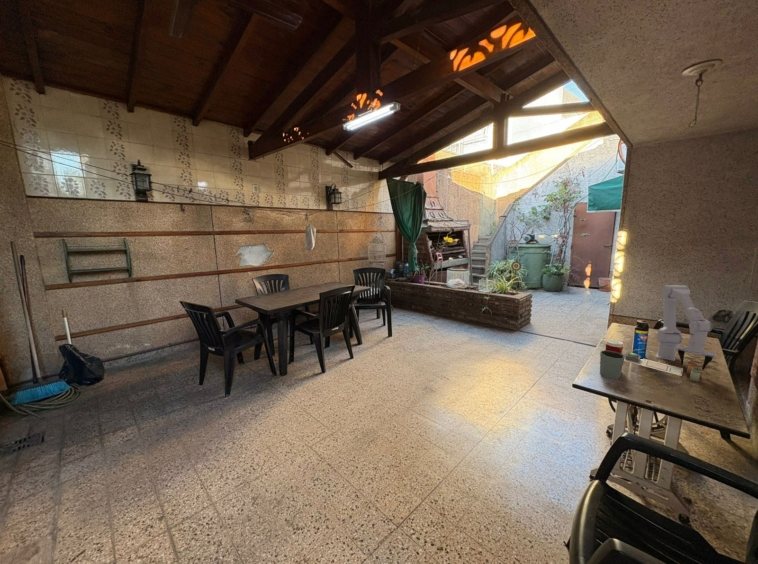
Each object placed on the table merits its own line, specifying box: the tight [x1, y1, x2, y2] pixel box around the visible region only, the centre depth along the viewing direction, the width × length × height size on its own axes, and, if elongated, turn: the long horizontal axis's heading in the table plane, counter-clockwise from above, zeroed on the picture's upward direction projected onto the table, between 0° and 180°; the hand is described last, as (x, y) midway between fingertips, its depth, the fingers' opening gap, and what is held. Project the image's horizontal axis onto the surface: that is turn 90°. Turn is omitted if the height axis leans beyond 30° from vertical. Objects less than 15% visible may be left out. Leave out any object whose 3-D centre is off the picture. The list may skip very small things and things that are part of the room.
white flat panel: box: [624, 358, 684, 378], centre depth 164 cm, size 12×24×1 cm, turn 41°
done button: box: [628, 352, 638, 358], centre depth 170 cm, size 4×4×2 cm
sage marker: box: [689, 367, 702, 383], centre depth 147 cm, size 3×3×6 cm
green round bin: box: [599, 350, 626, 380], centre depth 153 cm, size 10×10×12 cm
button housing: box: [624, 352, 642, 363], centre depth 170 cm, size 6×6×2 cm
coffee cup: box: [604, 339, 625, 355], centre depth 161 cm, size 8×8×15 cm
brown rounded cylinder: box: [686, 360, 698, 375], centre depth 154 cm, size 3×3×6 cm
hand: (692, 366), depth 154 cm, fingers open, 7 cm apart
